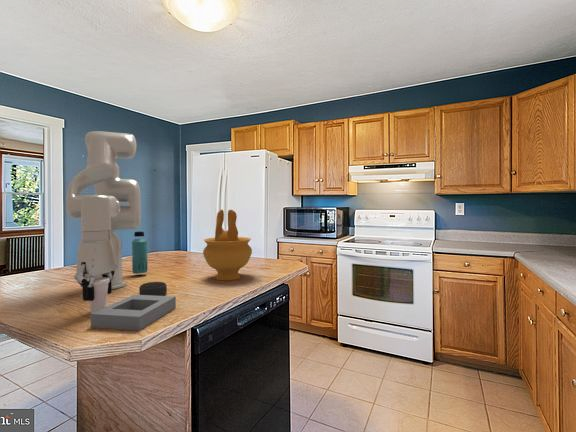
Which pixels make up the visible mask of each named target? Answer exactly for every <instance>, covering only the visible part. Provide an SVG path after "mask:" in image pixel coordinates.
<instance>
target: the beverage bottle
mask: <svg viewBox="0 0 576 432" xmlns="http://www.w3.org/2000/svg"><path fill="white" fill-rule="evenodd" d="M133 236H134V237H137V238H135V239H133V240H132V241H131V252H132V253H131V260H132V261H131V262H132V263H131V266H132V267H131V268H132V269H131V270H132V274H134V275H135V274H136V275H138V274H139V275H140V274H147V273H148V263H149V261H148V260H149V259H148V244H147V243H148V241H147V240H146V238H138V237H145V232H144V231H135V232H134V234H133Z"/></svg>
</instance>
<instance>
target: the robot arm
mask: <svg viewBox="0 0 576 432" xmlns="http://www.w3.org/2000/svg"><path fill="white" fill-rule="evenodd" d="M135 137H136V136H135V135H134V134H131V133H125V132H123V133H122V132H111V131H102V130H101V131H100V130H94V131H93V130H92V131H89V132H87V133H86V134H85V137H84V142H85V148H86V150H87V160H86V168H84V169H83V170H81V171H79V172H78V174H76V175H75V176H74V177H73V179H72V180H71V181H70V182H69V184H68V188H67V192H66V193H67V194H66V199H65V200H66V201H65V210H66V213H67V215H68V216H69V217H70V218H72V219H75V220H80V231H81V234H80V235H81V236H80V237H81V242H79V244H78V248H77V254H76V255H77V256H76V273H75V274H74V275H73V279H74V280H75V281H76V282H77V283H78V284H79V285H80V287H81V288H82V300H83V301H84V302H85V301H86V302H89V301H93V300H94V287H92V284H93V281H94V277H96V278H99V277H107V278H109V281H110V282H109V283H108V291H107V295H111V294H112V293H113V292H112V291H113V290H115V289H119V288H123V287H125V286H126V285H128V284H127V281H126V280H124V279H123V263H122V262H123V261H122V260H123V259H122V258H123V257H122V256H123V252H122V240H121V238H120V236H118V234H117V233H115V232H114V231H121V230H122V231H123V230H124V231H126V230H128V231H129V230H137V229H138V228H140V226H141V223H142V209H141V207H142V206H141V205H142V204H141V203H142V202H141V188H140V185H139V182H138V181H137V180H135V179H132V178H120V167H119V165H118V164H117V159H128V160H129V159H134V157H135V156H136V152H137V140H136V138H135ZM93 185H94V194H81V193H82V192H83V191H84V190H85V189H86V188H89V187H90V186H93ZM121 203H123V204H125V203H126V204H127V205H121ZM88 279H89V282H88V281H87V280H88Z"/></svg>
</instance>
